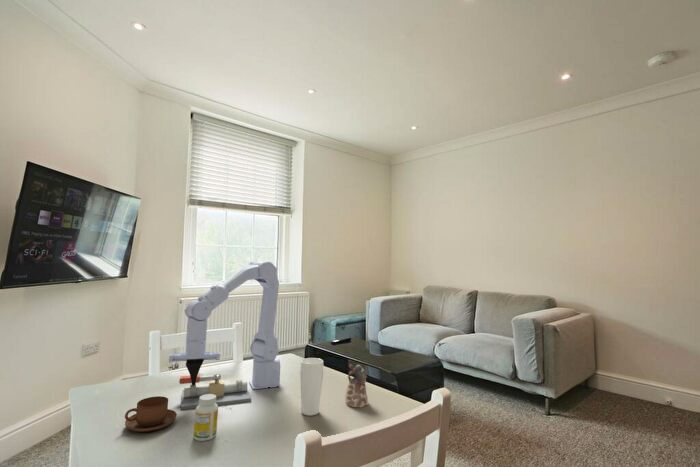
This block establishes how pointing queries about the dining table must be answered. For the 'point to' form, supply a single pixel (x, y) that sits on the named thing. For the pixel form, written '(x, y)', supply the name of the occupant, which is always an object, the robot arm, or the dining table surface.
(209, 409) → the supplement bottle
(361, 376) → the figurine
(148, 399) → the cup and saucer
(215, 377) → the valve lever
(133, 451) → the dining table surface
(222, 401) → the valve board
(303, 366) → the drinking glass
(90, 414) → the dining table surface
